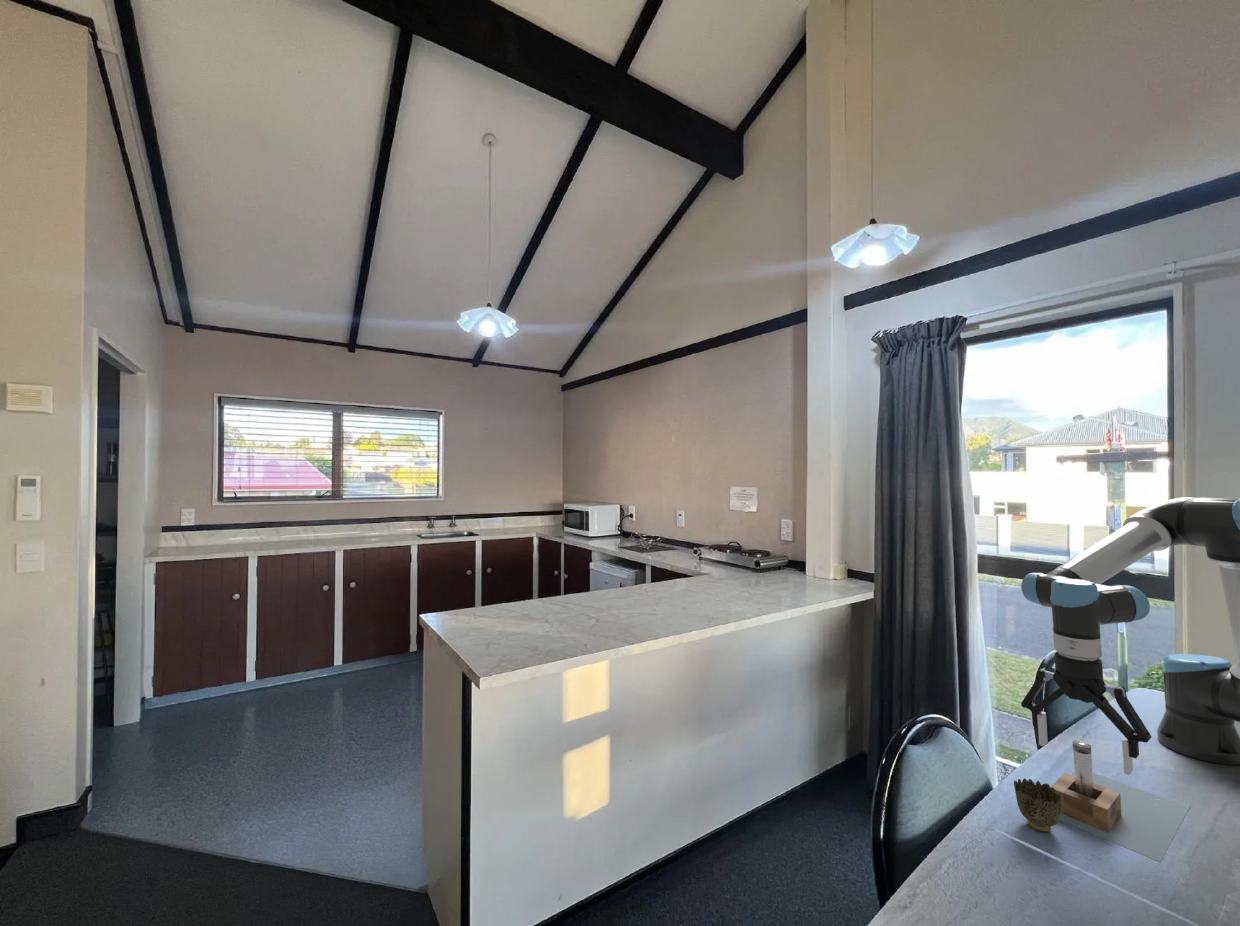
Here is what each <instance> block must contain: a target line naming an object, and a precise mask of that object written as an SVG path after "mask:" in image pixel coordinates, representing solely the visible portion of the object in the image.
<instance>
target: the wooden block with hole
mask: <svg viewBox="0 0 1240 926" xmlns="http://www.w3.org/2000/svg"><path fill="white" fill-rule="evenodd" d="M1050 787H1051V788H1052V787H1053V788H1054V790H1055V793H1056V794H1057V795H1058V794H1059V793H1060V794H1061V797H1062V798H1061V808H1060V813H1061V814H1064V815H1066V816H1069V817H1071V818H1073V819H1076V820H1078V821H1081V822H1083V823H1085V824H1088V825H1090V826H1093V827H1095V828H1097V829H1100V830H1102V831H1105V832H1107V833H1109V832H1110V831H1111V829H1112V828H1113V826H1114V825H1115V824H1116V822H1117V821H1118V819H1119V818H1120V817H1121V796H1120V793H1119V792H1116V791H1114V790H1111V789H1108V788H1105V787H1103V786H1100V785H1097V784H1094V783H1093V791H1094V799H1092V798H1089V797H1087V796H1084V795H1082V794H1079V793H1076V787H1075V776H1072V774H1068V773H1066V772H1064V773H1063V774H1062V775H1060V777H1059V778H1058V779H1057V780H1056V781H1055V782H1054V783H1053V784H1052V785H1051V786H1050Z"/></svg>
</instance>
